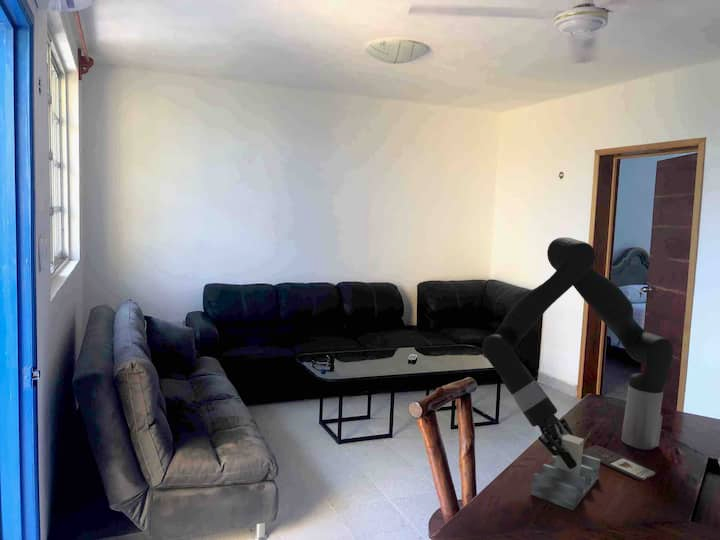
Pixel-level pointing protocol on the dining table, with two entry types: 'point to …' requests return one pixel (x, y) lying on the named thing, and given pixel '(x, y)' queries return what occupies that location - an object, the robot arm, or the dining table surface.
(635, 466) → the chocolate bar
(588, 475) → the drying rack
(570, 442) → the clay bar
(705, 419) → the dining table surface
